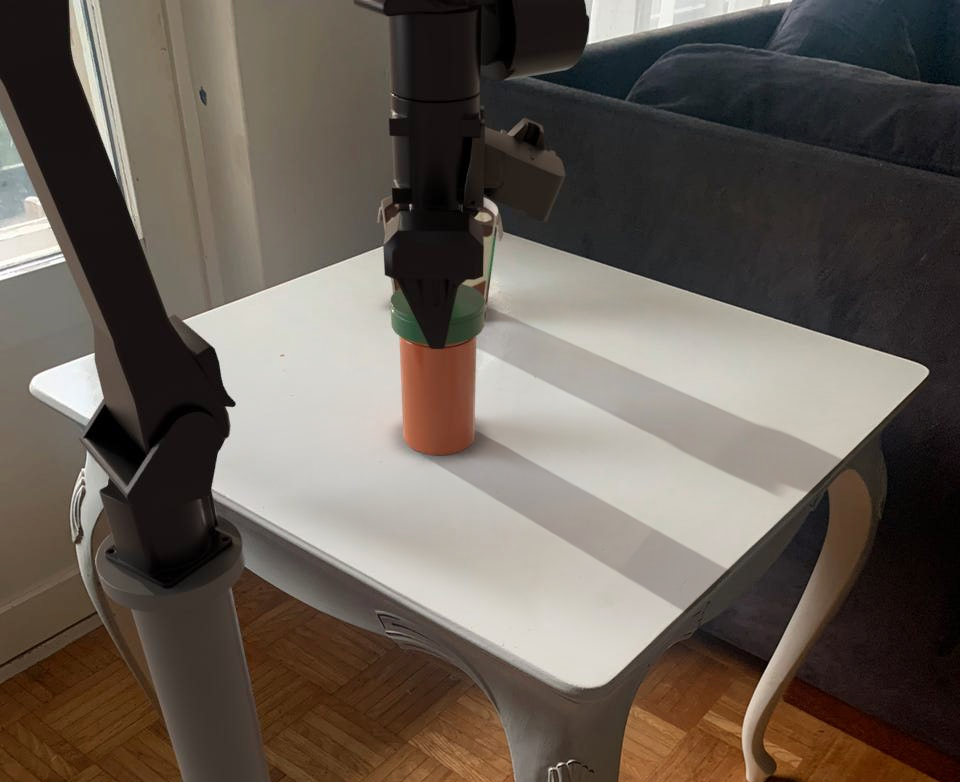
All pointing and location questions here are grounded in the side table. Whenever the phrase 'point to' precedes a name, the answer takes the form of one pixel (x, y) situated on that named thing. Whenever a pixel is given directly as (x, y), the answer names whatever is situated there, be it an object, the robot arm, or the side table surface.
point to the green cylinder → (463, 320)
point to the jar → (438, 396)
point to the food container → (491, 226)
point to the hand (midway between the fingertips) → (438, 326)
